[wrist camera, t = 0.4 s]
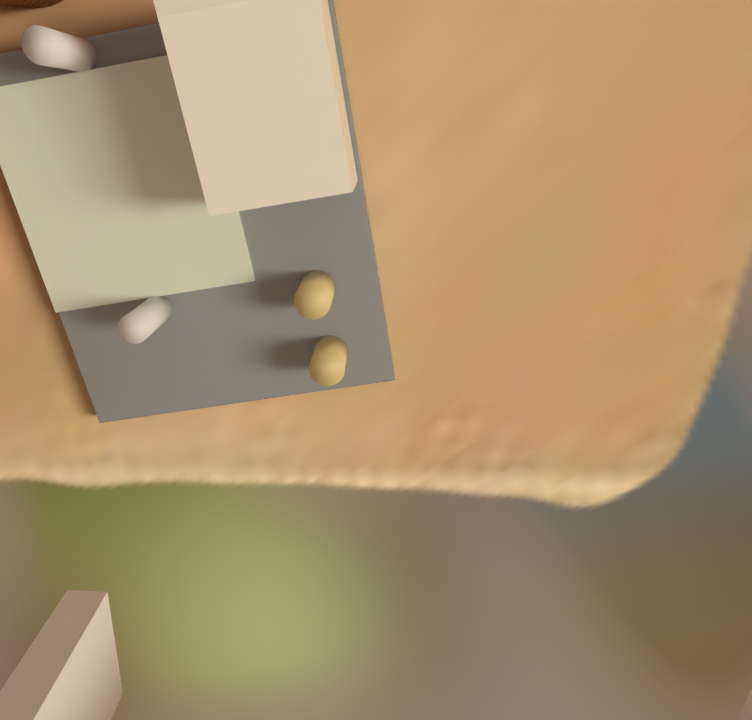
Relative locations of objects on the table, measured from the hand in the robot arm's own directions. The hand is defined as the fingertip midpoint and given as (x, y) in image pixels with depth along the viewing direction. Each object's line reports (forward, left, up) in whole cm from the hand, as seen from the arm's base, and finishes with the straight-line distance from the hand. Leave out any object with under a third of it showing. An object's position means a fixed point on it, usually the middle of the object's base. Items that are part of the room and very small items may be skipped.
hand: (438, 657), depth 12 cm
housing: (-11, -5, -25) cm, 27 cm away
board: (-6, -11, -26) cm, 29 cm away
